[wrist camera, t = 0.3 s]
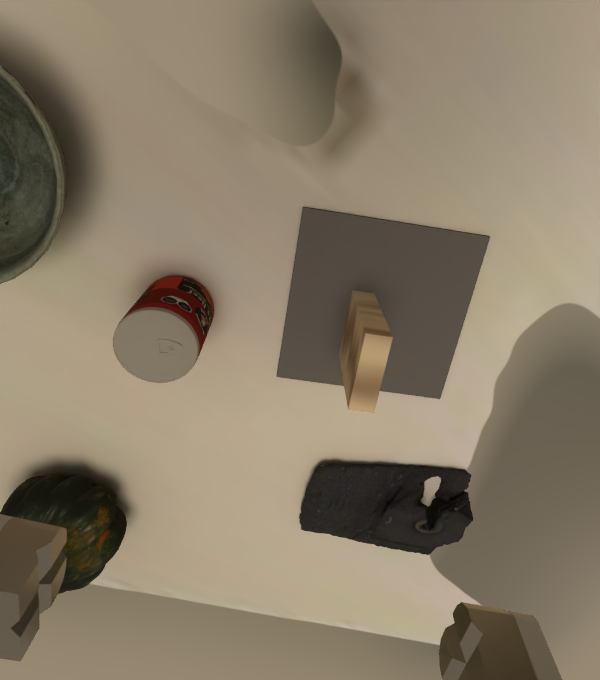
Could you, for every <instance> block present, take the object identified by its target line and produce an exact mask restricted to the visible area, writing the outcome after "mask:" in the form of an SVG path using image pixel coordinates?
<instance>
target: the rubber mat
mask: <svg viewBox="0 0 600 680" xmlns="http://www.w3.org/2000/svg"><path fill="white" fill-rule="evenodd" d="M489 239H490V237H489V236H484V235H478V234H471V233H465V232H459V231H452V230H446V229H440V228H433V227H427V226H421V225H414V224H408V223H402V222H396V221H389V220H383V219H377V218H370V217H364V216H358V215H351V214H345V213H339V212H332V211H326V210H320V209H313V208H307V207H303V212H302V218H301V224H300V231H299V237H298V244H297V250H296V257H295V263H294V269H293V276H292V282H291V289H290V295H289V301H288V308H287V314H286V321H285V327H284V333H283V340H282V346H281V353H280V359H279V365H278V372H277V377H282V378H289V379H297V380H304V381H311V382H319V383H326V384H334V385H341V386H344V381H343V376H342V370H341V364H340V358H339V352H340V347H341V342H342V337H343V333H344V328H345V323H346V318H347V313H348V309H349V304H350V299H351V294H352V290H355V291H362V292H369V293H375V296H376V298H377V300H378V303H379V305H380V308H381V310H382V312H383V315H384V317H385V320H386V322H387V324H388V327H389V329H390V332H391V334H392V336H393V339H392V343H391V347H390V351H389V355H388V359H387V363H386V367H385V371H384V375H383V379H382V383H381V387H380V391H386V392H393V393H400V394H408V395H415V396H423V397H430V398H437V399H440V398H441V394H442V391H443V388H444V385H445V381H446V378H447V375H448V372H449V368H450V365H451V362H452V359H453V355H454V352H455V349H456V346H457V343H458V339H459V336H460V333H461V330H462V326H463V323H464V320H465V317H466V313H467V310H468V307H469V304H470V300H471V297H472V294H473V291H474V287H475V284H476V281H477V278H478V275H479V271H480V268H481V265H482V262H483V258H484V255H485V252H486V249H487V245H488V242H489Z"/></svg>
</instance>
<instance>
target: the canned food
mask: <svg viewBox="0 0 600 680" xmlns="http://www.w3.org/2000/svg"><path fill="white" fill-rule="evenodd" d="M213 317H214V307H213V303H212V300H211V297H210V296H209V294H208V292H207V291H206V290H205V289H204V288H203V286H201V285H200V284H199V283H197V282H196V281H194V280H192V279H189V278H186V277H180V276H172V277H166V278H162V279H160V280H158V281H156V282H154V283H153V284H152V285H150V287H149V288H148V289H147V290H146V291H145V292H144V294H143V295H142V296H141V297H140V298H139V300H138V301H137V302H136V303H135V304H134V305H133V307H132V308H131V309H130V310H129V311H128V313H127V314H126V315H125V316H124V317H123V319H122V320H121V321H120V322H119V324H118V326H117V328H116V330H115V333H114V337H113V348H114V352H115V355H116V357H117V359H118V361H119V362H120V364H121V365H122V366H123V367H124V368H125V369H126V370H127V371H128V372H129V373H131V374H132V375H134V376H136V377H138V378H140V379H142V380H145V381H149V382H156V383H165V382H170V381H174V380H177V379H179V378H181V377H183V376H184V375H186V374H187V373H188V372H189V371H190V370H191V369H192V367H193V366H194V364H195V363H196V361H197V359H198V356H199V354H200V352H201V349H202V346H203V344H204V341H205V339H206V336H207V333H208V331H209V328H210V326H211V323H212V320H213Z"/></svg>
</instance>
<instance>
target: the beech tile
mask: <svg viewBox="0 0 600 680" xmlns="http://www.w3.org/2000/svg"><path fill="white" fill-rule="evenodd" d="M392 339H393V336H392V334H391V332H390V329H389V327H388V324H387V322H386V320H385V317H384V315H383V312H382V310H381V308H380V305H379V303H378V300H377V298H376V296H375V293H369V292H362V291H355V290H352V294H351V299H350V304H349V309H348V313H347V318H346V323H345V328H344V333H343V337H342V342H341V347H340V352H339V358H340V364H341V370H342V376H343V381H344V387H345V393H346V399H347V405H348V410H356V411H363V412H371V413H374V411H375V407H376V403H377V399H378V395H379V391H380V387H381V383H382V379H383V375H384V371H385V367H386V363H387V359H388V355H389V351H390V347H391V343H392Z"/></svg>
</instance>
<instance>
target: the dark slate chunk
mask: <svg viewBox="0 0 600 680" xmlns="http://www.w3.org/2000/svg"><path fill="white" fill-rule="evenodd" d="M436 476H439V477H440V478H441V483H440V487H439V489H438V491H437V492H436V493H435V497H436V498H435V499H434V500H433V501H432V504H431V506H429V507H427V506H426V505H424V504H423V503H421V501H420V499H422V498H423V492H424V482H425V481H426V480H427V479H429V478H431V477H436ZM470 478H471V474H469V473H468V472H467V471H465V470H464V471H461V470H444V469H436V468H430V467H416V466H395V467H387V466H382V465H377V466H374V465H371V466H370V465H338V464H328V465H321V466H319V467H318V468H317V469H316V471H315V472H314V474H313V476H312V480H311V482H310V484H309V486H308V488H307V489H306V493H305V499H304V501H303V503H302V507H301V512H302V514H301V515H300V517H299V518H300V523H301V526H302V530H304V531H311V532H315V533H326V534H331V535H333V536H338V537H344V538H348V539H352V540H355V541H358V542H363V543H369V544H375V545H376V546H382V547H387V548H390V549H397V550H398V549H400V550H403V551H407V552H415V553H421V554H426V555H429V554H430V553H431V552H432V551H433V550H434V549H435V548H436V547H439V546H443V545H444V544H446V545H448V544H451V543H453V542H458V541H459V540H460V539H461V538H462V537H463V533H464V530H465V528H466V527H467V526H468V525H469V524H470V523H471V521H473V516H472V512H471V508H470V501H469V498H468V493H467V492H465V491H464V490H465V489H467V488H468V486H469V485H468V483H469V482H470Z"/></svg>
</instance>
